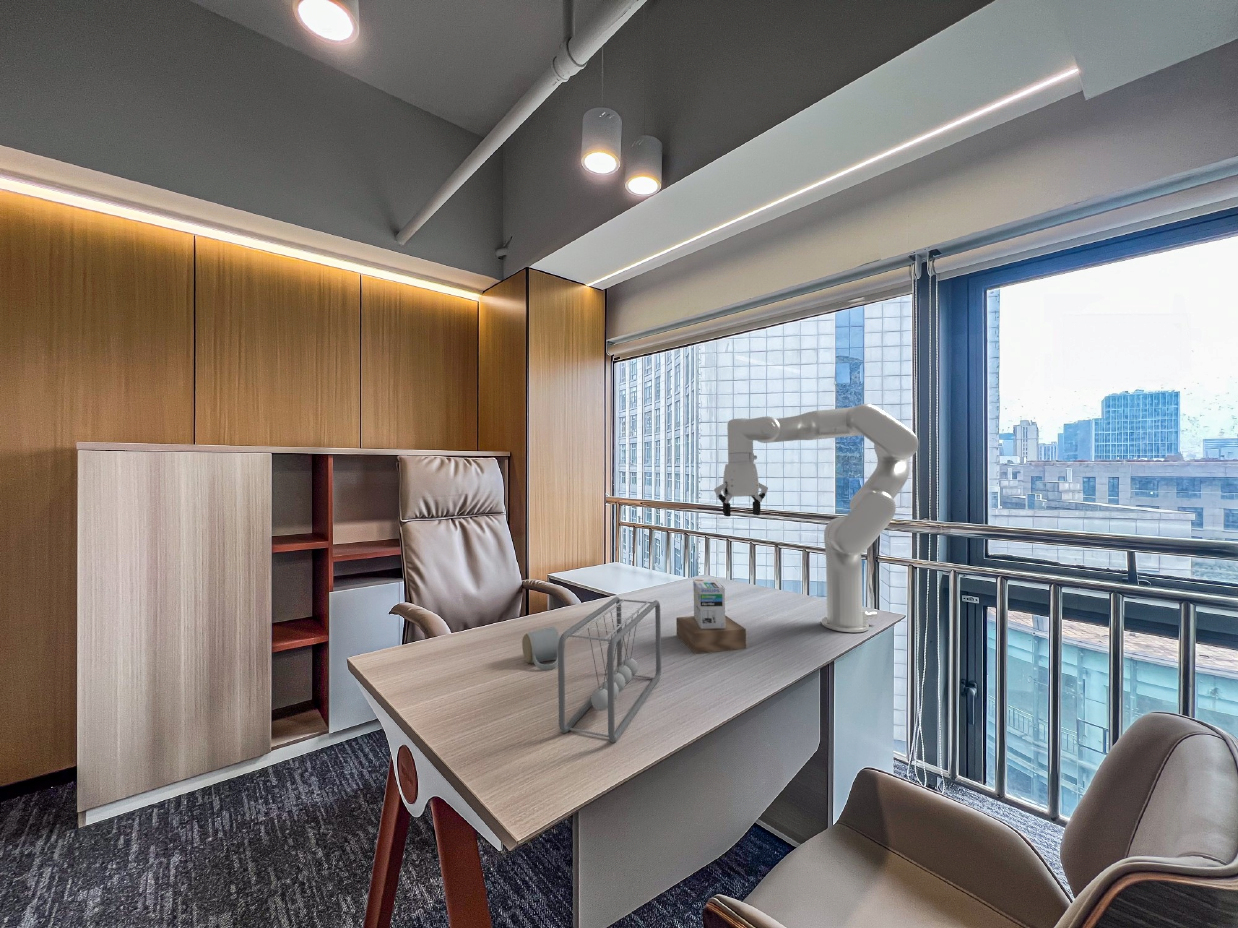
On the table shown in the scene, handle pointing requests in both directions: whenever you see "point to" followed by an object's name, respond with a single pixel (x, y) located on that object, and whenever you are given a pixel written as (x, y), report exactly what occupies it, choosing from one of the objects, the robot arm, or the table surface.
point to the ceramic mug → (541, 647)
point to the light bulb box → (709, 603)
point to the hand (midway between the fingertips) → (741, 515)
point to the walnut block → (710, 635)
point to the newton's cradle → (610, 667)
